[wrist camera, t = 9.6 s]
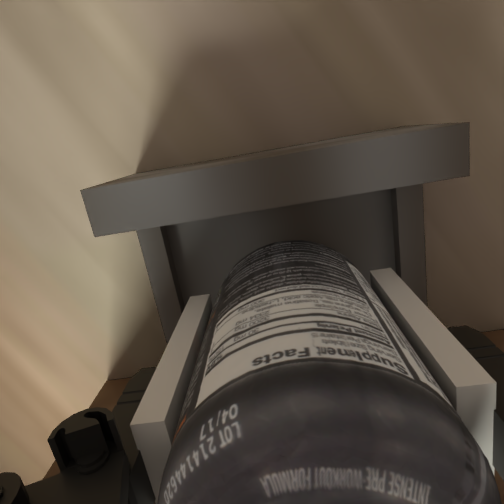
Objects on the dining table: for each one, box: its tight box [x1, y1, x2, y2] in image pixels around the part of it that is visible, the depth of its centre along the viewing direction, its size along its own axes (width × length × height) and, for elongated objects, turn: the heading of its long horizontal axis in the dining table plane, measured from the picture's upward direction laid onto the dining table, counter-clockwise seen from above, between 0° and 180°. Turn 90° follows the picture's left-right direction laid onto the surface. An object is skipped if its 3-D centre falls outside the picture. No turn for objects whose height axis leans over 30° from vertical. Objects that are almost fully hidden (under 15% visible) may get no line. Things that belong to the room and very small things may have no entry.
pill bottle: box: [157, 240, 502, 504], centre depth 9 cm, size 6×6×11 cm
